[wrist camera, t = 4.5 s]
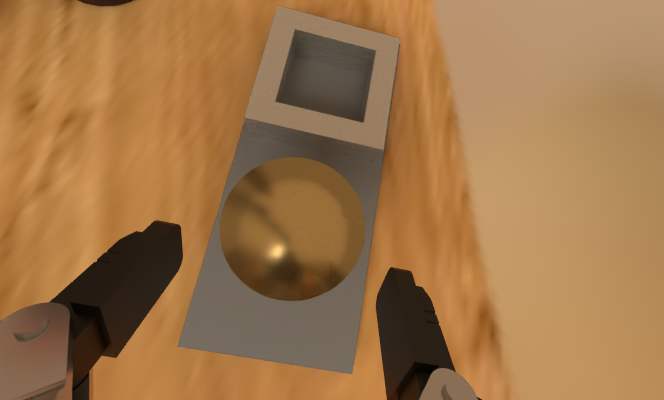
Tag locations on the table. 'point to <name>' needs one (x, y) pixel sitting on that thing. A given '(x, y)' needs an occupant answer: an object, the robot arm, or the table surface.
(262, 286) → the pin
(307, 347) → the grey base plate
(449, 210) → the table surface
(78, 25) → the table surface
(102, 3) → the bottle
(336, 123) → the collar
